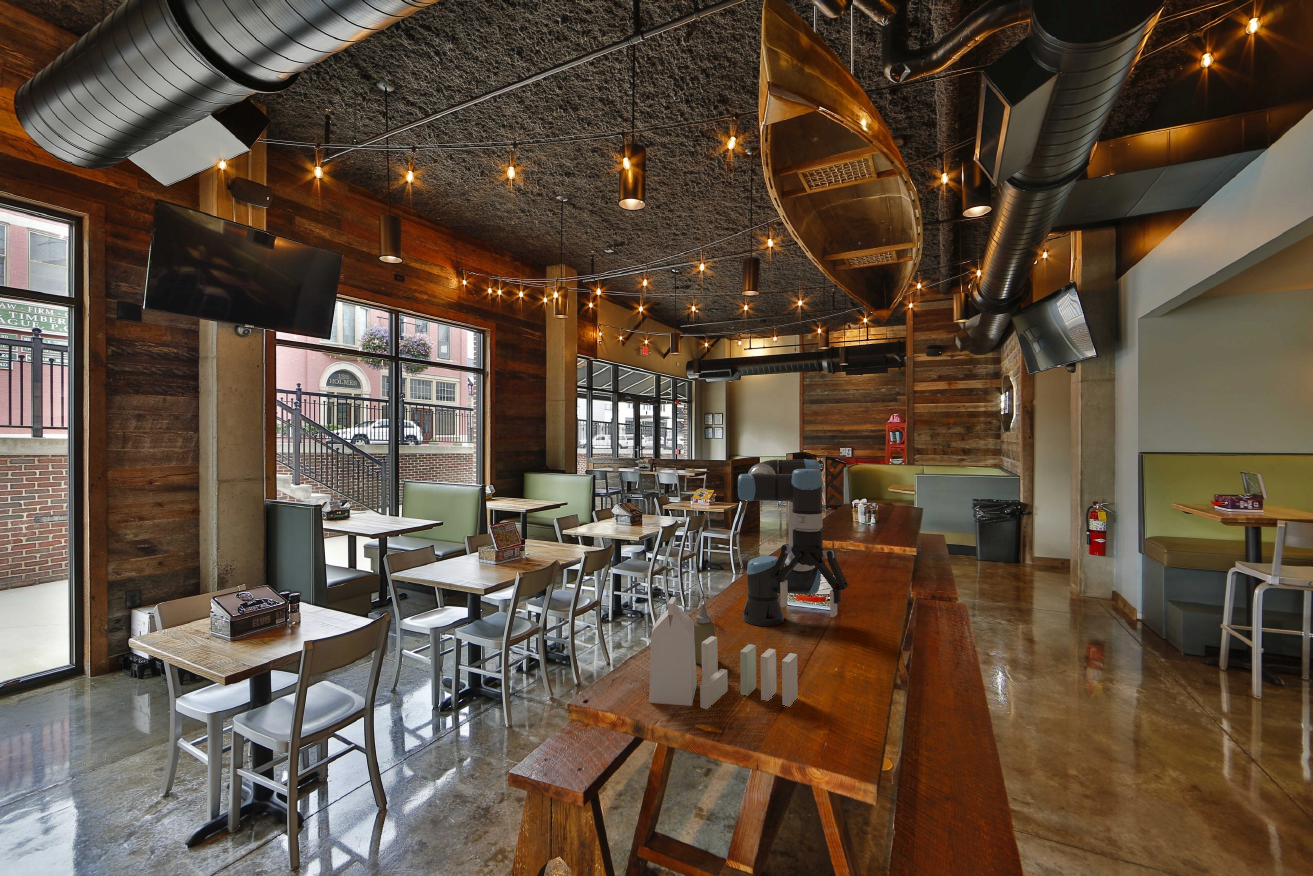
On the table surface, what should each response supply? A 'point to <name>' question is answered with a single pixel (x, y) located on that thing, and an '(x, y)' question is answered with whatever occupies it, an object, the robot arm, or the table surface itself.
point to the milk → (673, 658)
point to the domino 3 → (748, 669)
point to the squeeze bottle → (702, 631)
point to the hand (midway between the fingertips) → (808, 610)
